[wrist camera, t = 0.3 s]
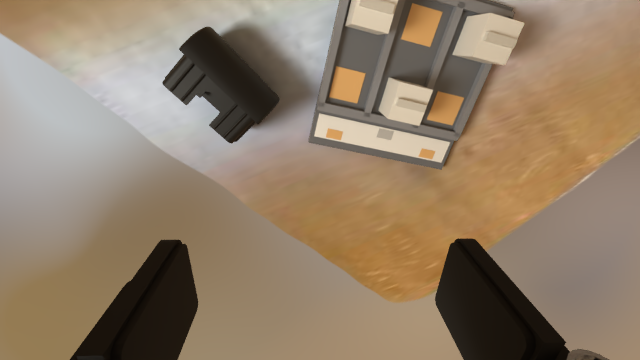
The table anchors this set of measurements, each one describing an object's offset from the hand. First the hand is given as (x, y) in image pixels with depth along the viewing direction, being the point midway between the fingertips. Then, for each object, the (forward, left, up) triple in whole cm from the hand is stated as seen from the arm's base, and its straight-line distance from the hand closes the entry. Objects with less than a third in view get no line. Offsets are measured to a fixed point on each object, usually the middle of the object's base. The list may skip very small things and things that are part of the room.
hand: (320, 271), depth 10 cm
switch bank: (-6, +10, -29) cm, 31 cm away
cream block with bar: (-12, +4, -28) cm, 30 cm away
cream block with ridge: (-4, +10, -28) cm, 30 cm away
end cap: (-1, -10, -29) cm, 31 cm away
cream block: (-12, +17, -28) cm, 34 cm away
